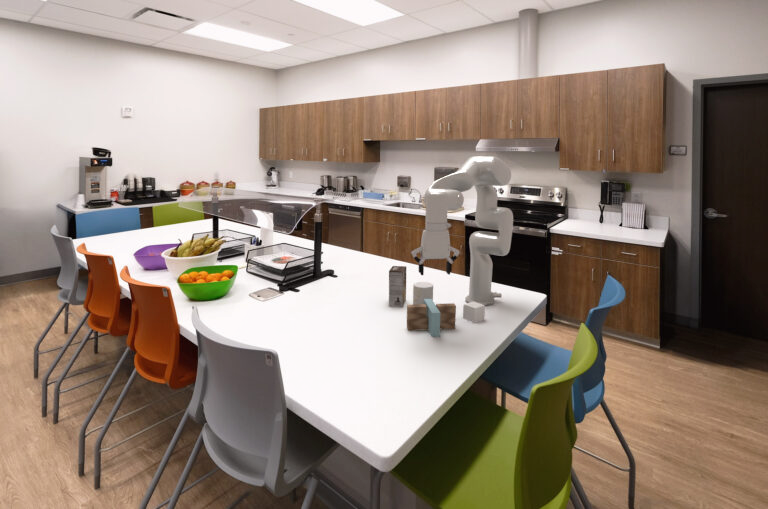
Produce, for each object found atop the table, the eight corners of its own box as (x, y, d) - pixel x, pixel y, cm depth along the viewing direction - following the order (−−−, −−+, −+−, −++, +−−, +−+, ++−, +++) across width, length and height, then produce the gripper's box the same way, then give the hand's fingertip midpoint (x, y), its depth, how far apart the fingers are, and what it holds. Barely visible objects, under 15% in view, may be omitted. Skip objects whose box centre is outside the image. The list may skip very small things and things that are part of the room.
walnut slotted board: (453, 325, 170) (453, 303, 168) (455, 328, 167) (456, 305, 165) (406, 327, 168) (407, 304, 166) (407, 330, 165) (408, 307, 163)
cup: (411, 309, 188) (412, 282, 185) (430, 308, 188) (431, 281, 186) (414, 316, 180) (415, 287, 177) (434, 315, 180) (435, 287, 178)
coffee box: (392, 299, 200) (392, 265, 196) (406, 300, 199) (406, 266, 195) (388, 306, 191) (388, 270, 188) (403, 307, 190) (403, 271, 186)
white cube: (462, 318, 178) (463, 304, 176) (472, 315, 181) (473, 301, 180) (474, 322, 173) (475, 308, 172) (484, 319, 177) (485, 305, 175)
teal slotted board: (430, 320, 175) (431, 298, 173) (439, 336, 160) (440, 312, 158) (423, 320, 175) (423, 298, 173) (431, 336, 159) (432, 313, 157)
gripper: (457, 224, 160) (455, 270, 163) (410, 225, 158) (409, 271, 162) (463, 228, 152) (461, 276, 156) (413, 229, 151) (412, 277, 155)
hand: (434, 273), depth 159 cm, fingers open, 9 cm apart
